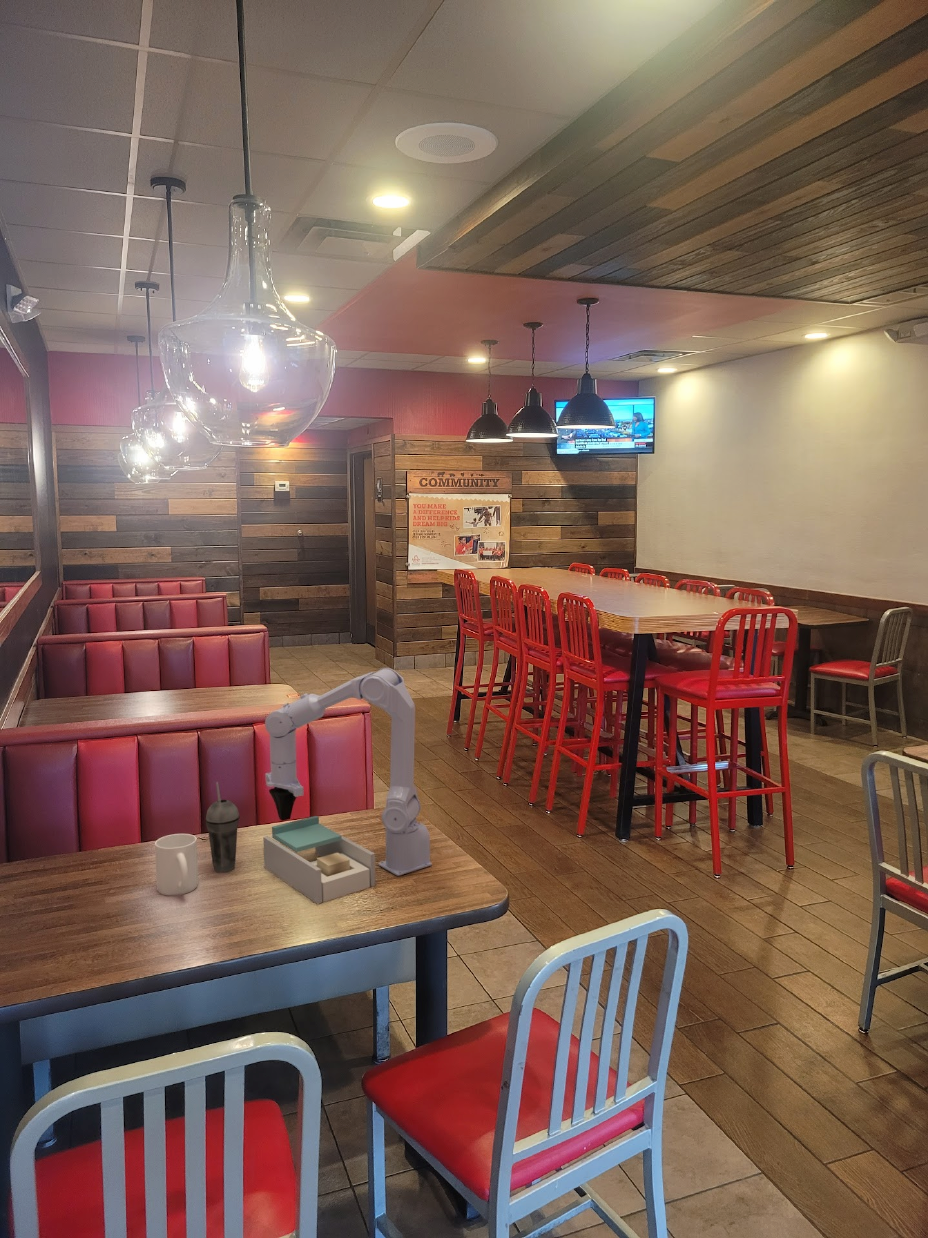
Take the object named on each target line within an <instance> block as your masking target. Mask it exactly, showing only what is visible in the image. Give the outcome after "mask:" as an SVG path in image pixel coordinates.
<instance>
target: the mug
mask: <svg viewBox="0 0 928 1238" xmlns="http://www.w3.org/2000/svg"><path fill="white" fill-rule="evenodd" d="M197 841H198V839H197V837H196V836H195V835H193V834H190V833H174V834H169V835H164V836H162V837H160V838H157V840H156V841H155V842H154V854H155V855H154V856H155V857H154V859H155V860H154V861H155V880H156V890H157V891H158V892H159V894H162V895H164V896H168V897H172V896H173V897H174V896H181V895H186V894H188V893H191V892H193V891H194V890H195V889H197V887H198V884H199V867H198V866H199V865H198V864H199V863H198V842H197Z"/></svg>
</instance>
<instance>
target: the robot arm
mask: <svg viewBox="0 0 928 1238" xmlns="http://www.w3.org/2000/svg"><path fill="white" fill-rule="evenodd" d="M350 698H355V699H357V700H359V701H361V700H362V699H364V700H365V701H366V702H367V703H369V704H372V705H374V706H375V707H378V708H380V709H382V710H383V711H385V712H386V713H387V714H388V715H389V716H390V718H391V726H390V769H389V772H390V773H389V774H390V775H389V777H390V778H389V789H388V793H387V796H386V798H385V799H386V800H385V801H386V802H385V803H386V804H385V808H384V809H383V810H382V813H381V820H382V825H383V826H384V828H385V831H384V832H385V860H383V861H380V862H377V865H378V866H379V867H381V868H383V869H384V870H386V871H387V872H390V873H392V874H393V875H395V876H397V877H400V876H402V875H404V874H409V873H412V872H415V871H418V870H421V869H425V868H428V867H431V866H432V865H433V862H431V850H430V849H431V845H430V844H431V843H430V842H431V839H430V832H429V830H428V827H426V825H425V824H424V823H422V822H418V820H417V817H418V816H419V814H420V812H421V807H422V806H421V802H420V800H419V796H418V789H417V787H416V786H415V783H414V781H415V780H414V778H415V776H414V775H415V774H414V773H415V738H416V737H415V735H416V733H415V731H416V727H415V726H416V705H415V703H414V700H413V698H412V697H411V695H410V692H409V690H408V689H407V687H406V685H405V679H404V677H403V676H401V674H399V673H398V672H397V671H395V669H393V668H390V667H382V668H380V669H378V670H377V671H376V672H375V671H371V672H368V673H365V674H363V675H359V676H356V677H355V678H352V679H350V680H348V681H346V682H345V683H342V684H341V685H339V686H337V687H335V688H333V689H331V690H329V691H328V692H326V693H323V694H321V695H318V694H315V693H309V694H308V693H307V692H306V693H304V694H302V695H300V696H299V699H297V700H295V701H293V702H291V703H289V702H286V703H285V704H283V705H282V707H280V708H278V709H277V710H274V711H272V712H270V713H269V714H268V715H267V717H266V718H265V721H264V726H265V730H266V732H267V733H268V734H269V753H270V755H269V759H270V772H266V773H265V774H264V776H265V782H266V783H265V784H266V785H265V786H267V787H269V788H270V789H269V790H268V792H269V794H270V796H271V797H272V800H273V802H274V805H275V808H276V811H277V816H278V819H279V820H280V821H288V820H290V819H291V817H292V813H293V808H294V805H295V802H296V799H297V797H301V796H304V786H302V785H301V783H300V781H299V779H298V777H297V774H298V773H297V770H298V769H297V739H296V738H297V736H296V730H297V729H300V728H302V727H303V726H306V725H308V724H311V723H312V722H314V721H317V720H319V719H321V718H322V717H324V714H325V712H326V709H328V708H330V707H332V706H335V705H337V704H339V703H341V702H344V701H346V700H348V699H350ZM272 787H273V788H272Z"/></svg>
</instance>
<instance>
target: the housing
mask: <svg viewBox="0 0 928 1238" xmlns="http://www.w3.org/2000/svg"><path fill="white" fill-rule="evenodd" d="M323 826H324V825H323ZM324 827H326V828H328V827H327V826H324ZM336 833H337V834H339V833H338V832H336ZM339 835H341V834H339ZM341 836H342V840H340V841H336V842H333V843H329V844H326V845H322V846H318V847H315V848H314V853H315V854H316V855H317V856H318V857H323V856H327V855H331V854H334V853H339V854H341V855H343V856H344V857H346V858H347V859H349V860H350V870H348V871H345V872H341V873H338V874H335V875H331V876H328V877H327V876H325V875H324V874H322V873H321V869H320V868H318V867H317V860H314V861H308V860H307V859H305V858H304V857H302V856H301V855H299V854H297V852H295V851H293V850H292V849H290V848H288V847H287V846H285V845H284V844H282V843H280V842H279V841H277V840H275V839H274V838H272V837H270V836H268V835H267V836H263V867H264V869H266V870H267V871H268V872H270V873H271V874H273V875H274V876H276V877H278V878H279V879H280V880H282V881H283V882H285V883H286V884H288V885H289V886H291V887H292V888H294V889H295V890H296V891H298V892H299V893H300V894H302V895H303V896H305V897H306V898H308V899H310V900H311V901H312V902H314V903H315V904H316V905H319V904H322V903H325V902H328V901H331V900H335V899H339V898H341V897H345V896H346V895H350V894H353V893H357V892H360V891H362V890H366V889H369V888H370V887H371V888H372V887H375V886H376V853H375V852H373V851H371V850H369V849H367V848H366V847H363V846H361V845H360V844H358V843H356V842H354V841H352V839H349V838H347V837H345V836H344V835H341Z"/></svg>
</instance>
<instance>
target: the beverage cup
mask: <svg viewBox="0 0 928 1238" xmlns="http://www.w3.org/2000/svg"><path fill="white" fill-rule="evenodd" d="M215 786H216V795H217V800H216V801H214V802H212V804H211V805H210V806H209V807H208V809H207V811H206V816H205V820H204V822H206V823H205V824H206V828H207V831H208V838H209V847H210V854H211V855H210V856H211V861H212V862H211V863H212V867H213V871H214V872H215V873H218V874H225V873H226V874H227V873H230V872H233V871H234V870H235V869H236V860H237V859H236V856H237V839H238V828H239V822H240V813H239V809H238V807H237V806H236V804H234V803H233V802H232V801H230V800H229V799H221V792H220V787H219V782H218V781H216V782H215Z"/></svg>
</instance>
